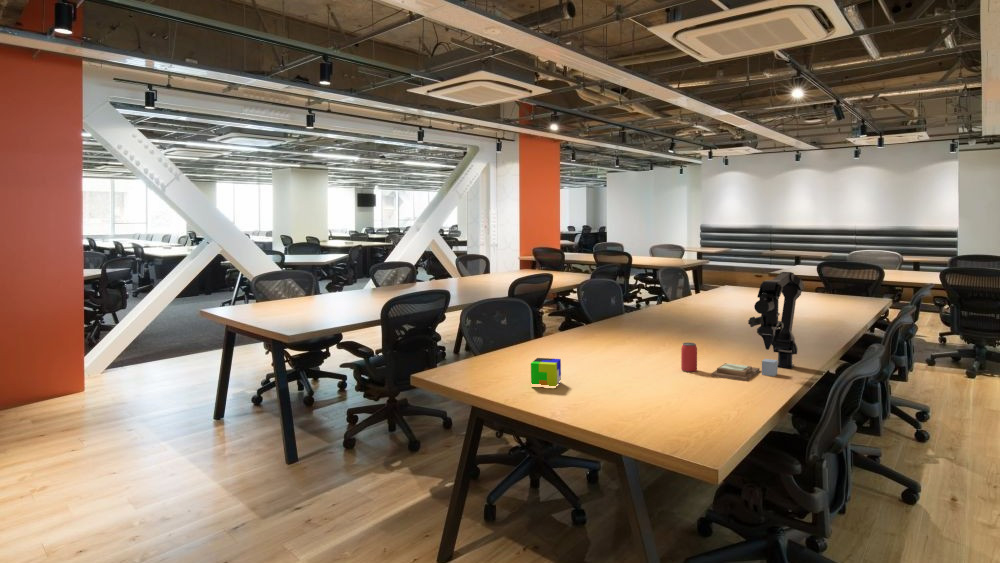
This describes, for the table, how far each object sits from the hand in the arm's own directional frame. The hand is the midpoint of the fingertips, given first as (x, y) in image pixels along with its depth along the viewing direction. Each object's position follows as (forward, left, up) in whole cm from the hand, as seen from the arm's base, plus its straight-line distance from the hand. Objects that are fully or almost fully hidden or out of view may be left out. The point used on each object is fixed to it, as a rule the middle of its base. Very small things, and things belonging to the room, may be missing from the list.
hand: (770, 347), depth 240 cm
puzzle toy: (+66, -69, -12) cm, 96 cm away
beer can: (+12, -30, -12) cm, 34 cm away
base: (+6, -12, -12) cm, 18 cm away
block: (0, 0, -12) cm, 12 cm away
